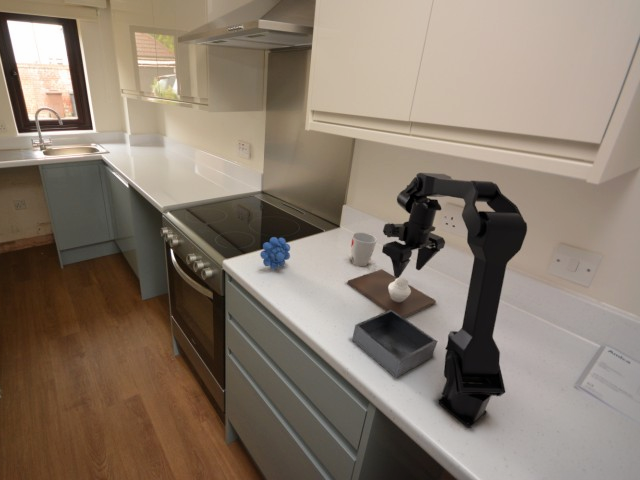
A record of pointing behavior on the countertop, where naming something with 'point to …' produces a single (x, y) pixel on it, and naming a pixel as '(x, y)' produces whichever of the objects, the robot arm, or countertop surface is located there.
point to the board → (378, 292)
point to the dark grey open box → (394, 342)
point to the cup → (362, 248)
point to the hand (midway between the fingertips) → (407, 273)
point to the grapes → (275, 252)
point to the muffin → (399, 290)
